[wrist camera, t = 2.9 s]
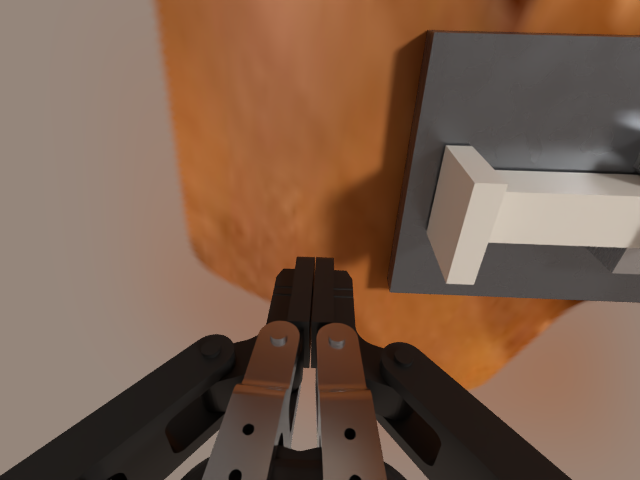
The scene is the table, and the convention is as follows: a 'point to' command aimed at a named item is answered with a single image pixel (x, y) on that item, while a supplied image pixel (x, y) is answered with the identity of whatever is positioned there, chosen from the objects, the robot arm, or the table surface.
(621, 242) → the plunger
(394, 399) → the robot arm
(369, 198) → the table surface
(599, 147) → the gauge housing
